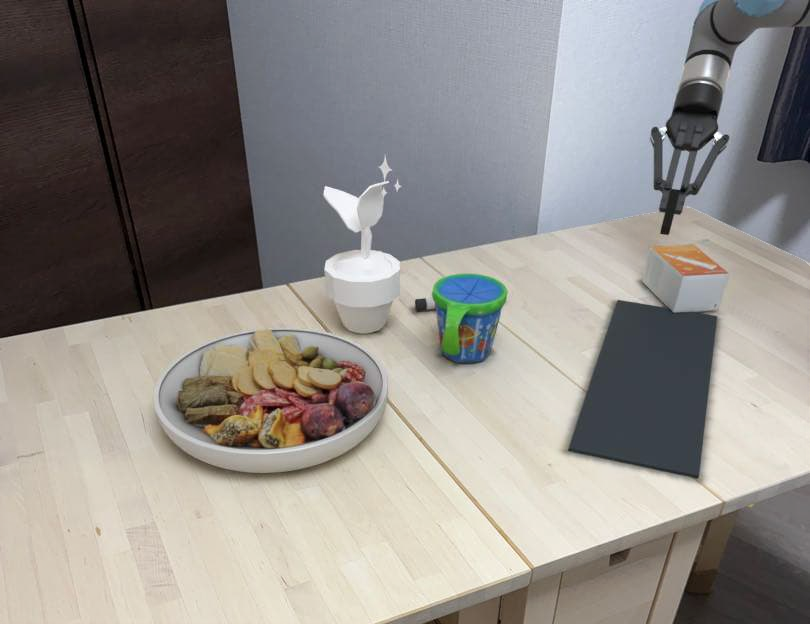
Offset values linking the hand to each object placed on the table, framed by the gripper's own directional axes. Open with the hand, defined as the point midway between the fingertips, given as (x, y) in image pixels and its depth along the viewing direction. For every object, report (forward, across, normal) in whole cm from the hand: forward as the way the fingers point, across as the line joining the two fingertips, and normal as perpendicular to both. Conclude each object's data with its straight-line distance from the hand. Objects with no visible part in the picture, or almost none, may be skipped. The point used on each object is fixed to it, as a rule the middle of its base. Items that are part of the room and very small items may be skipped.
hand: (665, 230), depth 125 cm
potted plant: (+30, +42, +17) cm, 54 cm away
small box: (+3, -2, -4) cm, 6 cm away
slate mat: (+30, -3, +17) cm, 34 cm away
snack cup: (+32, +24, +19) cm, 44 cm away
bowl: (+49, +43, +37) cm, 75 cm away
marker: (+22, +29, +9) cm, 37 cm away
